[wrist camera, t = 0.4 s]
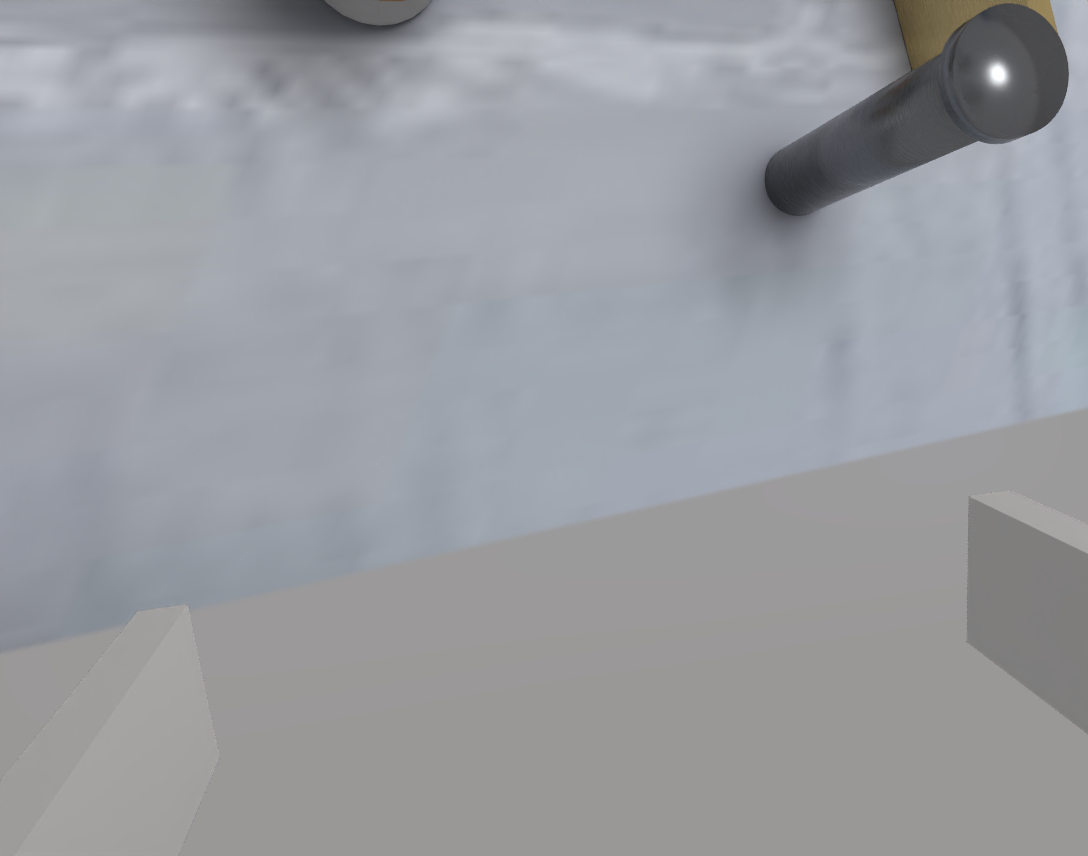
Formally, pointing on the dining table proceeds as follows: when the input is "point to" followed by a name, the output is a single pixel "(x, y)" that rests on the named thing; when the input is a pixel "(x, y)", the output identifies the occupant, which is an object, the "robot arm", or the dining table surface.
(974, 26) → the hinge pin
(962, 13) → the tan plate
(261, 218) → the dining table surface
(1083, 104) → the dining table surface
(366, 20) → the coffee cup
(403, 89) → the dining table surface
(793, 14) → the dining table surface
